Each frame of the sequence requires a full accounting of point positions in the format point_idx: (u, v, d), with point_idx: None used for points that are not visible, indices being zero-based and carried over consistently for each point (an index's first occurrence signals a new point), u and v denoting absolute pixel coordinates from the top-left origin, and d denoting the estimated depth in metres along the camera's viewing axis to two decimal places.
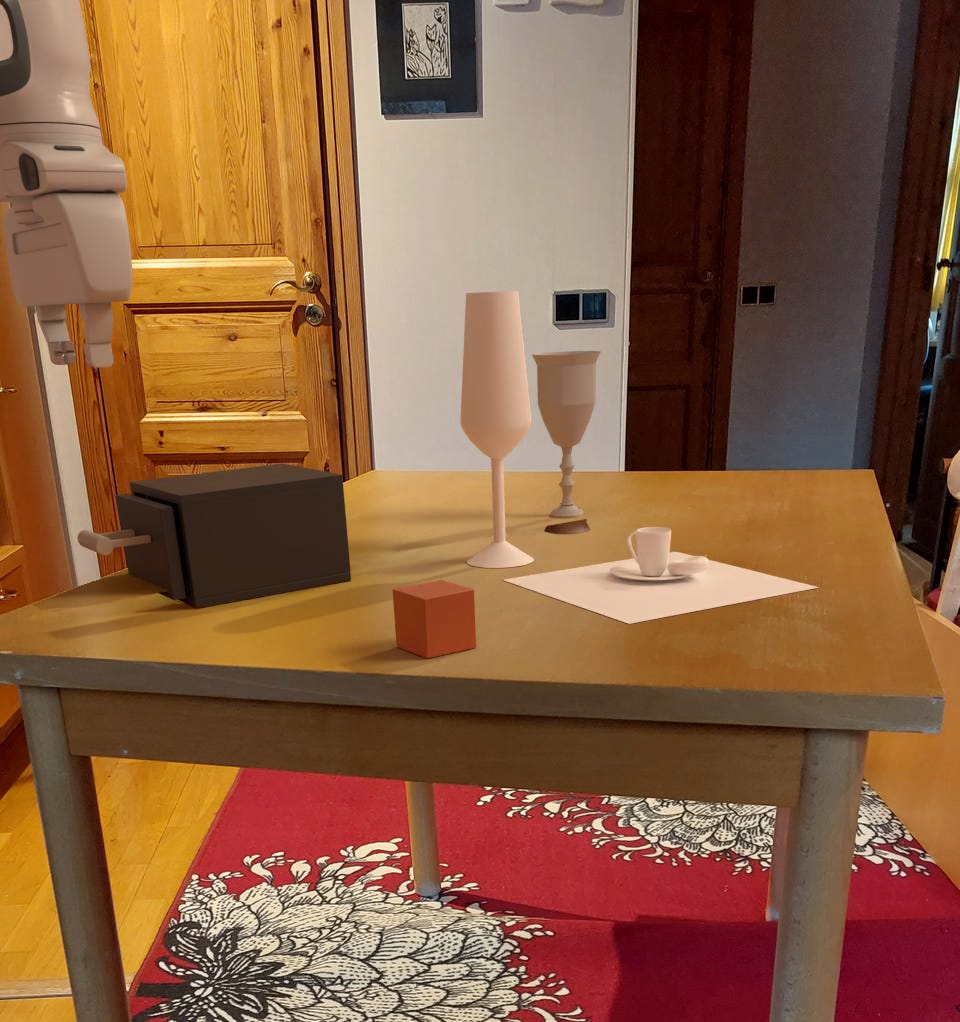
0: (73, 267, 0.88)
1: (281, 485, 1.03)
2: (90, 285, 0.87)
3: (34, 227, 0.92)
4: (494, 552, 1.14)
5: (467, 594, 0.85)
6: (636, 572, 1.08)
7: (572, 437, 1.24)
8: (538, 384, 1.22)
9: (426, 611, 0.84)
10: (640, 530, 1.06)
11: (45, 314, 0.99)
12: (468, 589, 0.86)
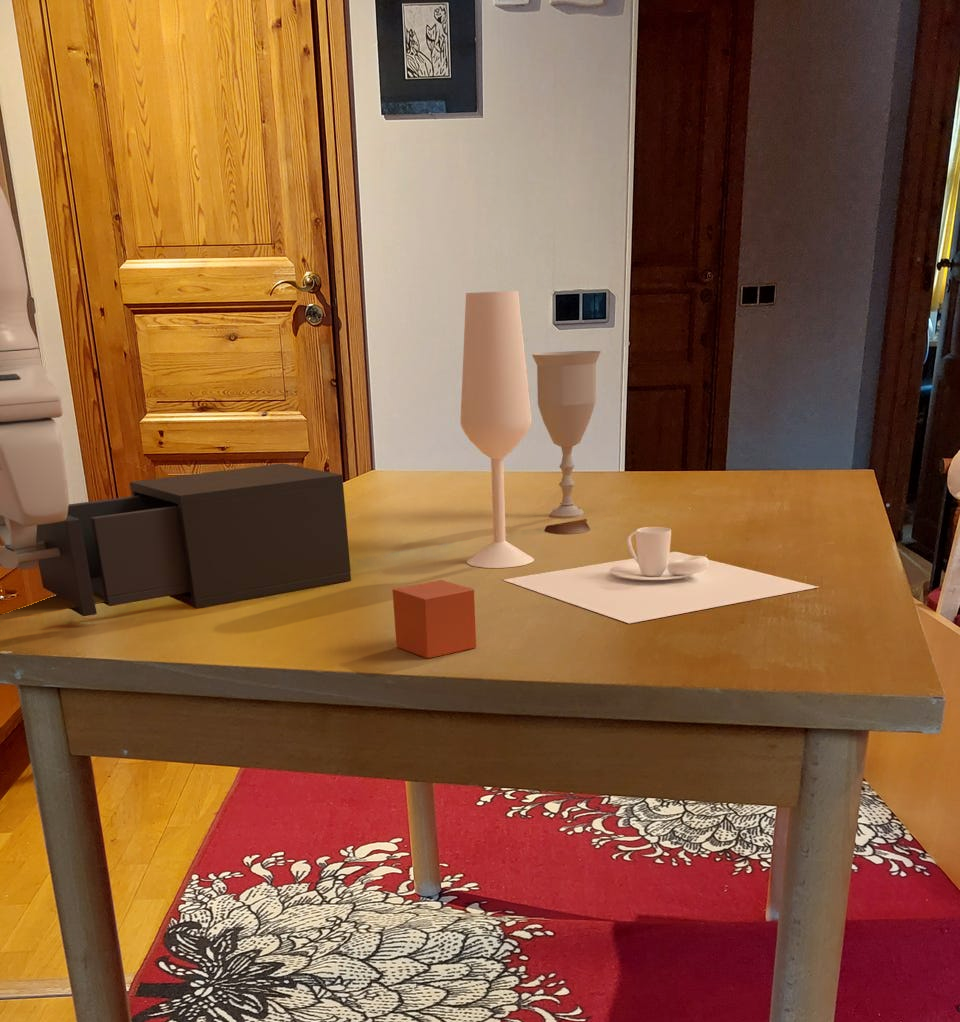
0: (9, 492, 0.89)
1: (281, 485, 1.03)
2: (26, 511, 0.88)
3: None
4: (494, 552, 1.14)
5: (467, 594, 0.85)
6: (636, 572, 1.08)
7: (572, 437, 1.24)
8: (538, 384, 1.22)
9: (426, 611, 0.84)
10: (640, 530, 1.06)
11: (1, 518, 0.97)
12: (468, 589, 0.86)
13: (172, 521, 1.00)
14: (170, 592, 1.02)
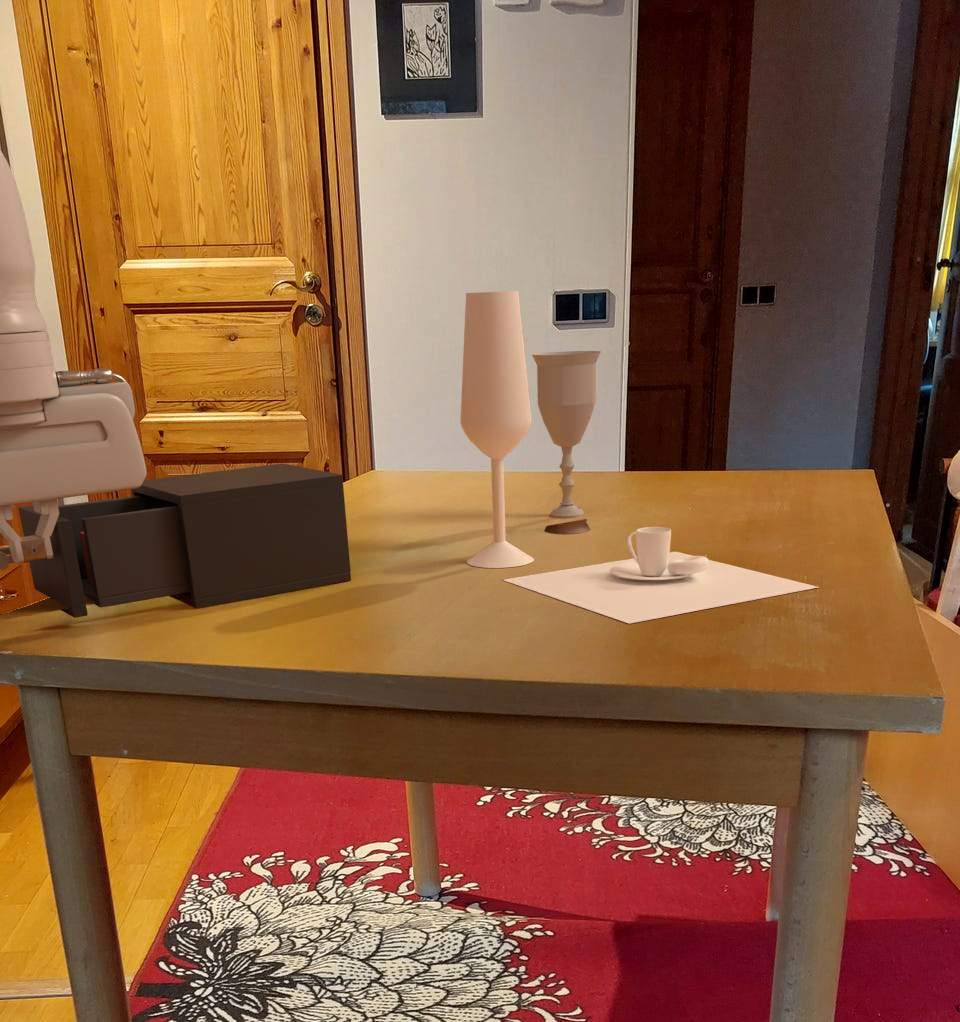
0: None
1: (281, 485, 1.03)
2: None
3: None
4: (494, 552, 1.14)
5: None
6: (636, 572, 1.08)
7: (572, 437, 1.24)
8: (538, 384, 1.22)
9: None
10: (640, 530, 1.06)
11: (34, 507, 0.94)
12: None
13: (164, 522, 0.99)
14: (162, 593, 1.01)
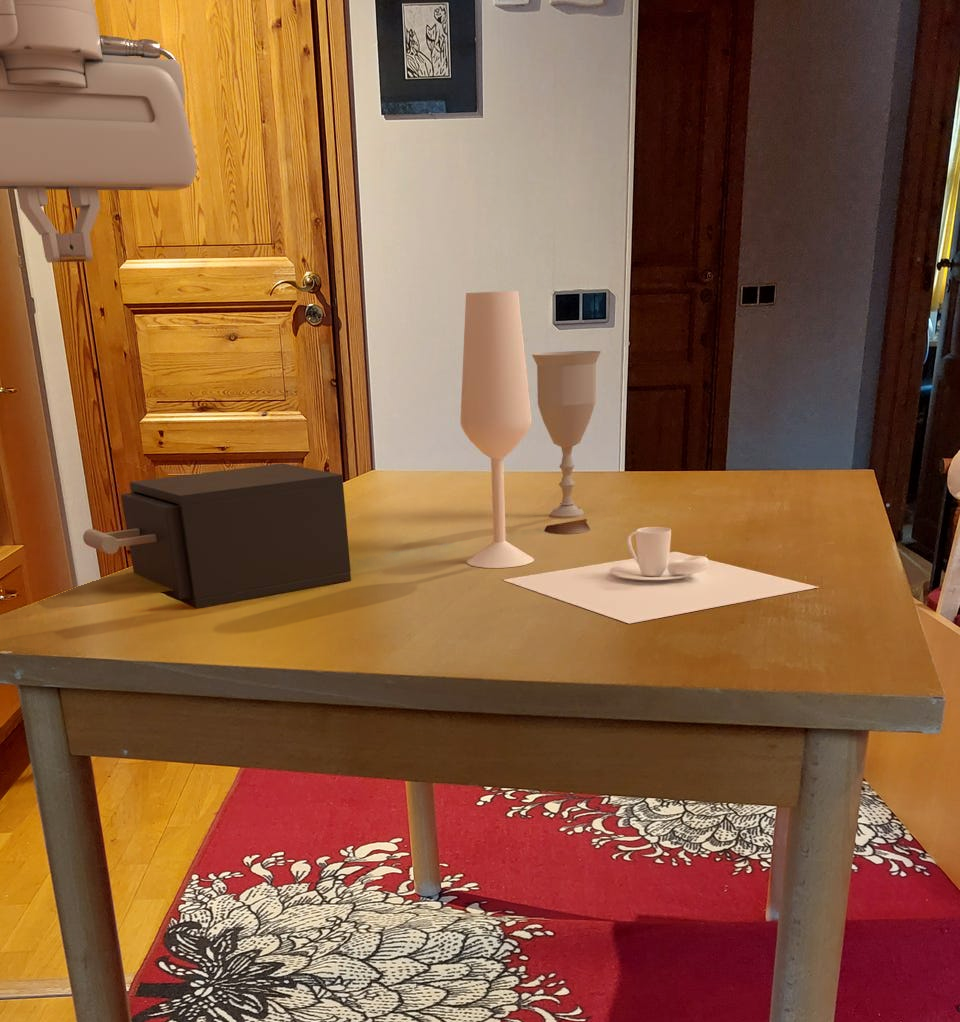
0: None
1: (281, 485, 1.03)
2: None
3: None
4: (494, 552, 1.14)
5: None
6: (636, 572, 1.08)
7: (572, 437, 1.24)
8: (538, 384, 1.22)
9: None
10: (640, 530, 1.06)
11: (72, 199, 0.83)
12: None
13: None
14: None
